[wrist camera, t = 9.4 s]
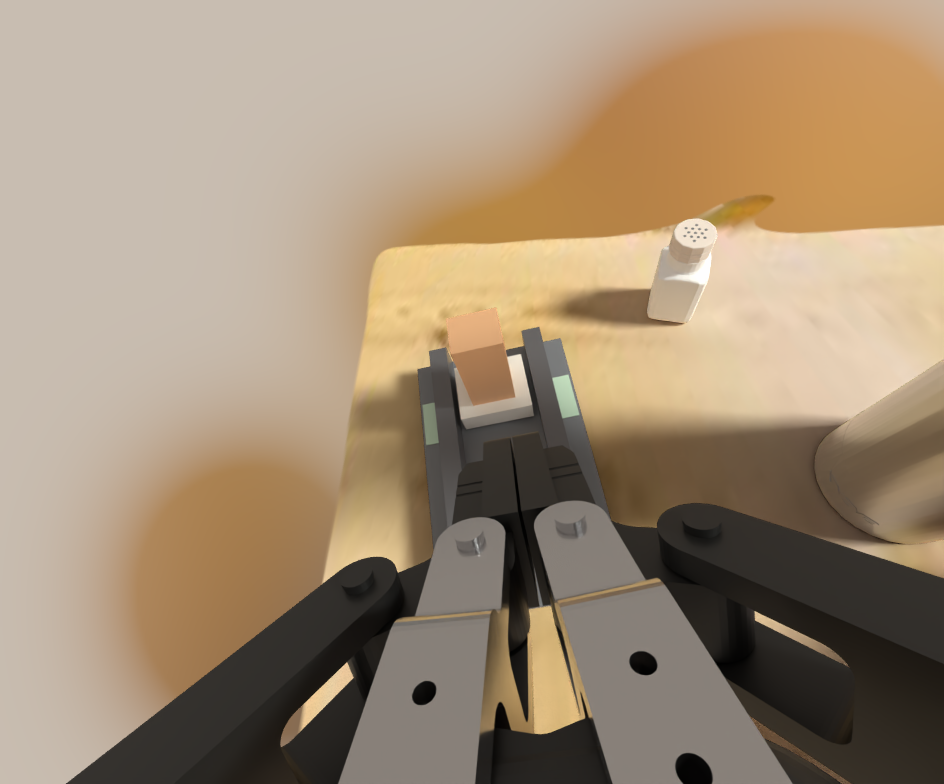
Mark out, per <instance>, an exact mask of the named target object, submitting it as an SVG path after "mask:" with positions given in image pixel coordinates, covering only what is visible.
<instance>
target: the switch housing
mask: <svg viewBox="0 0 944 784" xmlns="http://www.w3.org/2000/svg"><path fill="white" fill-rule="evenodd" d="M522 338H523V345H524V346H522V347H518V348H513V349H509V350H506V354H507V357H509V356H514V355H519V354H521V357H522V361H523V366H524V370H525V375H526V379H527V384H528V388H529V393H530V397H531V402H532V407H533V413H534V416H531V417H526V418H521V419H516V420H511V421H506V422H501V423H496V424H491V425H486V426H481V427H476V428H471V429H466V428H465V426H464V424H463V422H462V420H461V416H460V408H459V401H458V393H457V386H456V378H455V371H454V368H456V365H455V363H454V361H453V362H452V360H451V358H450V355H449V353H448V351H447V349H446V348H441V349H437V350H432V351H429V355H430V365H431V366H430V367H426V368H421V369H418V380H419V392H420V403H421V414H422V425H423V437H424V448H425V459H426V470H427V482H428V493H429V504H430V515H431V527H432V538H433V549H434V548H435V545H436V542H437V539H438V538H439V536H440V535H441V534H442V533H443V532H444V531H445V530H446V529H447V528H449V527H450V526H452V520H453V513H454V505H455V498H456V490H457V483H458V475H459V473H460V472H461V471H462V470H463V468H464V467H465V466H466V465H467V463H472V462H477V461H482V460H483V443H484V442H487V441H492V440H497V439H502V438H507V437H510V439H511V443H512V447H513V440H512V436H517V435H522V434H527V433H532V432H537V431H539V435H540V438H541V442H542V445H543V449H544V448H550V447H555V446H560V445H563V446H564V447H566V448H568V449H569V450H571V451H572V452H574V454H575V456H576V458H577V461H578V463H579V465H580V468H581V470H582V473H583V475H584V477H585V480H586V482H587V484H588V487H589V489H590V491H591V494H592V496H593V499H594V501H595V503H596V505H597V506H599V507H600V508H602V509H603V510H604V511H605V512H606V514H607V515H608V517H609V519H610V520H611V518H610V514H609V511H608V507H607V504H606V500H605V496H604V493H603V489H602V486H601V482H600V478H599V475H598V471H597V468H596V464H595V461H594V457H593V453H592V450H591V446H590V443H589V439H588V435H587V432H586V428H585V425H584V421H583V417H582V414H581V410H580V407H579V403H578V400H577V396H576V392H575V389H574V385H573V382H572V378H571V374H570V371H569V367H568V364H567V360H566V357H565V353H564V349H563V346H562V342H561V339H560V338H559V339H555V340H550V341H545V342H543V340H542V336H541V332H540V328H539V327H537V328H532V329H528V330H523V331H522ZM513 452H514V448H513ZM534 570H535V569H534ZM535 577H536V573H535ZM536 584H537V591H538V598H539V605H540V607H546V606H551V605H546V606H543V604H542V600H541V595H540V591H539V587H538V582H537V578H536ZM540 607H534V608H540ZM529 609H533V608H529Z"/></svg>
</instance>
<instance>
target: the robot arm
mask: <svg viewBox="0 0 944 784" xmlns="http://www.w3.org/2000/svg"><path fill="white" fill-rule="evenodd" d="M512 440H513V447H512V443H511V439H510V437H507V438H502V439H497V440H492V441H487V442H484V443H483V460H482V461H477V462H472V463H467V465H466V466H465V467H464V468H463V470H462V471H461V472H460V473H459V475H458V483H457V490H456V498H455V505H454V513H453V520H452V526H450V527H449V528H447V529H446V530H445V531H444V532H443V533H442V534H441V535H440V536H439V538H438V539H437V542H436V545H435V548H434V552H433V555H432V558H430V559H429V560H427V561H425V562H423V563H421V564H419V565H416V566H414V567H411V568H409V569H406V570H404V571H401V572H399V573H398V572H397V569H396V567H395V564H394V563H393V562H392V561H391V560H389V559H387V558H384V557H370V558H365V559H361V560H358V561H356V562H354V563H352V564H350V565H348V566H346V567H344V568H343V569H341V570H340V571H339V572H337V573H336V574H335V575H334V576H332V577H331V578H330V579H328V580H327V581H326V582H325V583H323V584H322V585H321V586H320V587H318V588H317V589H316V590H314V591H313V592H312V593H310V594H309V595H308V596H307V597H305V598H304V599H303V600H302V601H300V602H299V603H298V604H296V605H295V606H294V607H292V608H291V609H290V610H289V611H287V612H286V613H285V614H283V616H281V617H280V618H278V619H277V620H276V621H275V622H273V623H272V624H271V625H269V626H268V627H267V628H265V629H264V630H263V631H262V632H260V633H259V634H258V635H256V636H255V637H254V638H253V639H251V640H250V641H249V642H247V643H246V644H245V645H244V646H242V647H241V648H240V649H239V650H237V651H236V652H235V653H233V654H232V655H231V656H230V657H228V658H227V659H226V660H224V661H223V662H222V663H221V664H219V665H218V666H217V667H215V668H214V669H213V670H212V671H210V672H209V673H208V674H207V675H205V676H204V677H203V678H201V679H200V680H199V681H198V682H196V683H195V684H194V685H192V686H191V687H190V688H188V689H187V690H186V691H185V692H183V693H182V694H181V695H179V696H178V697H177V698H176V699H174V700H173V701H172V702H170V703H169V704H168V705H167V706H165V707H164V708H163V709H161V710H160V711H159V712H158V713H156V714H155V715H154V716H153V717H151V718H150V719H149V720H148V721H146V722H145V723H143V724H142V725H141V726H140V727H138V728H137V729H136V730H135V731H134V732H132V733H131V734H129V735H128V736H127V737H126V738H124V739H123V740H122V741H120V742H119V743H118V744H117V745H115V746H114V747H113V748H111V749H110V750H109V751H107V752H106V753H105V754H104V755H102V756H101V757H100V758H99V759H97V760H96V761H95V762H93V763H92V764H91V765H90V766H88V767H87V768H86V769H84V770H83V771H82V772H81V773H79V774H78V775H77V776H75V777H74V778H73V779H72V780H70V781H69V782H68V783H66V784H841V783H840V782H838V781H837V780H836V779H834V778H833V777H831V776H830V775H828V774H827V773H826V772H824V771H823V770H821V769H820V768H818V767H817V766H815V765H814V764H812V763H810V762H808V761H807V760H805V759H803V758H802V757H800V756H798V755H796V754H795V753H793V752H791V751H790V750H788V749H785V748H783V747H781V746H779V745H777V744H775V743H773V742H771V741H769V740H767V739H764V738H763V737H762V735H761V734H760V732H759V730H758V729H757V727H756V726H755V724H754V723H753V721H752V720H751V718H750V716H751V717H752V718H754V719H755V720H757V721H758V722H760V723H761V724H763V725H764V726H766V727H767V728H769V729H770V730H772V731H773V732H775V733H776V734H778V735H779V736H781V737H782V738H784V739H785V740H787V741H788V742H790V743H791V744H793V745H795V746H796V747H798V748H799V749H801V750H802V751H804V752H805V753H807V754H808V755H810V756H811V757H813V758H814V759H816V760H817V761H819V762H820V763H822V764H823V765H825V766H826V767H828V768H829V769H831V770H832V771H834V772H835V773H837V774H838V775H840V776H841V777H843V778H844V779H846V780H847V781H849V782H850V783H852V784H944V579H943V578H940V577H937V576H934V575H931V574H928V573H925V572H922V571H919V570H916V569H912V568H909V567H906V566H903V565H900V564H897V563H894V562H891V561H888V560H885V559H881V558H878V557H875V556H872V555H869V554H866V553H863V552H860V551H857V550H854V549H850V548H847V547H844V546H841V545H838V544H835V543H832V542H829V541H826V540H823V539H819V538H816V537H813V536H810V535H807V534H804V533H801V532H798V531H795V530H791V529H788V528H785V527H782V526H779V525H776V524H773V523H770V522H767V521H764V520H760V519H757V518H754V517H751V516H748V515H745V514H742V513H739V512H736V511H733V510H729V509H726V508H723V507H720V506H716V505H711V504H702V503H691V504H683V505H679V506H676V507H673V508H671V509H669V510H667V511H665V512H664V513H663V514H662V515H661V516H660V518H659V519H658V522H657V528H646V527H631V526H626V525H622V524H619V523H616V522H613V521H611V520H610V519H609V517H608V515H607V514H606V512H605V511H604V510H603V509H602V508H600V507H599V506H597V505H596V503H595V501H594V499H593V496H592V494H591V491H590V489H589V487H588V484H587V482H586V480H585V477H584V475H583V473H582V470H581V468H580V465H579V463H578V461H577V458H576V456H575V454H574V452H572V451H571V450H569V449H568V448H566V447H564V446H563V445H560V446H555V447H550V448H544V449H543V445H542V442H541V438H540V435H539V431H537V432H532V433H527V434H522V435H517V436H512ZM513 448H514V452H513ZM814 470H815V475H816V479H817V482H818V485H819V487H820V489H821V491H822V493H823V495H824V496H825V498H826V499H827V501H828V502H829V503H830V505H831V506H832V507H833V508H834V509H835V510H836V511H837V512H838V513H839V514H840V515H841V516H842V517H843V518H844V519H846V520H847V521H848V522H850V523H851V524H852V525H854V526H855V527H857V528H859V529H860V530H862V531H864V532H866V533H868V534H870V535H872V536H875V537H878V538H881V539H884V540H887V541H891V542H897V543H902V544H922V543H928V542H934V541H939V540H944V359H943V360H942V361H940V362H938V363H937V364H935V365H934V366H932V367H931V368H929V369H928V370H926V371H925V372H923V373H922V374H920V375H918V376H917V377H915V378H914V379H912V380H911V381H909V382H908V383H906V384H905V385H903V386H901V387H900V388H898V389H897V390H895V391H894V392H892V393H891V394H889V395H888V396H886V397H884V398H883V399H881V400H880V401H878V402H877V403H875V404H874V405H872V406H871V407H869V408H867V409H866V410H864V411H862V412H861V413H859V414H858V415H856V416H855V417H853V418H852V419H850V420H849V421H847V422H846V423H844V424H843V425H841V426H840V427H838V428H836V429H835V430H833V431H832V432H831V433H830V434H828V435H827V436H826V437H825V438H824V439H823V440H822V442H821V443H820V445H819V446H818V449H817V452H816V455H815V462H814ZM534 569H535V570H534ZM535 573H536V577H535ZM536 578H537V582H538V587H539V591H540V595H541V600H542V604H543V606H546V605H551V608H552V612H553V617H554V621H555V626H556V631H557V635H558V640H559V644H560V647H561V651H562V655H563V658H564V662H565V666H566V670H567V673H568V677H569V681H570V684H571V688H572V692H573V695H574V699H575V703H576V707H577V710H578V714H579V718H580V721H577V722H575V723H573V724H570V725H568V726H565V727H563V728H561V729H558V730H556V731H554V732H551V733H548V734H534V703H533V662H532V640H531V636H530V632H529V629H530V616H529V608H534V607H540V605H539V598H538V591H537V584H536ZM754 611H756V612H758V613H760V614H762V615H764V616H766V617H769V618H771V619H773V620H775V621H777V622H779V623H781V624H783V625H785V626H787V627H789V628H791V629H793V630H796V631H798V632H800V633H802V634H804V635H806V636H808V637H810V638H812V639H814V640H816V641H818V642H820V643H822V644H824V645H826V646H827V647H829V648H830V649H832V650H833V651H834V652H836V653H837V654H838V655H839V656H840V657H841V658H842V659H843V660H844V661H845V662H846V663H847V664H848V666H849V667H850V668H849V667H847V666H845V665H843V664H841V663H839V662H837V661H835V660H833V659H831V658H829V657H827V656H825V655H823V654H821V653H819V652H817V651H815V650H813V649H811V648H809V647H807V646H805V645H803V644H801V643H799V642H797V641H795V640H793V639H791V638H789V637H787V636H785V635H783V634H781V633H779V632H777V631H775V630H773V629H771V628H769V627H767V626H765V625H763V624H761V623H759V622H757V621H755V613H754ZM346 662H348V665H349V667H350V670H351V672H352V674H353V677H354V678H353V679H352V680H351V681H350V682H349V683H348V684H347V685H346V686H345V687H344V688H343V689H342V690H341V691H340V692H339V693H338V694H337V695H336V696H335V697H334V698H333V699H332V700H331V701H330V702H329V703H328V704H327V705H326V706H325V707H324V708H323V709H322V710H321V711H320V712H319V713H318V714H317V715H316V716H315V717H314V718H313V720H312V721H311V722H310V723H309V724H308V725H307V726H306V727H305V728H304V729H303V730H302V731H301V732H300V733H299V734H298V735H297V736H296V737H295V738H294V739H293V740H292V741H290V743H288V744H286V745H285V746H283V747H281V746H280V740H281V735H282V732H283V729H284V727H285V725H286V724H287V722H288V720H289V719H290V717H291V716H292V715H293V714H294V713H295V712H296V711H297V710H298V709H299V708H300V707H301V706H302V705H303V704H304V703H305V702H306V701H307V700H308V699H309V698H310V697H311V696H312V695H313V694H314V693H315V692H316V691H317V690H318V689H319V688H321V687H322V686H323V685H324V684H325V683H326V682H327V681H328V680H329V679H330V678H331V677H332V676H333V675H334V674H335V673H336V672H337V671H338V670H339V669H340V668H341V667H342V666H343V665H344V664H345V663H346Z"/></svg>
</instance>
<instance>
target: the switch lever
mask: <svg viewBox="0 0 944 784" xmlns="http://www.w3.org/2000/svg"><path fill="white" fill-rule="evenodd" d="M446 323H447V330H448V338H449V345H450V353H451V356H452V358H453V361H454V363H455V365H456V368H454V371H455V378H456V386H457V393H458V401H459V408H460V416H461V420H462V422H463V424H464V426H465V428H466V429H471V428H476V427H481V426H486V425H491V424H496V423H501V422H506V421H511V420H516V419H521V418H526V417H531V416H534V413H533V407H532V402H531V397H530V393H529V388H528V384H527V379H526V375H525V370H524V366H523V361H522V357H521V354H519V355H514V356H509V357H507V354H506V349H505V345H504V340H503V336H502V331H501V327H500V322H499V318H498V313H497V308H491V309H487V310H482V311H478V312H474V313H469V314H465V315H460V316H456V317H452V318H447V319H446Z"/></svg>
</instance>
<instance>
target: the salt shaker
mask: <svg viewBox="0 0 944 784" xmlns="http://www.w3.org/2000/svg"><path fill="white" fill-rule="evenodd" d="M717 236H718V235H717V231H716V227H715V226H713V225H712V224H711V223H710V222H708V221H705V220H701V219H688V220H685V221H683V222H681V223H680V224H678V225H677V226H676V228H675V230H674V232H673V235H672V239H671V242H670V245H669V246H667V247H664V248H663V249H662V251H661V255H660V258H659V262H658V265H657V269H656V273H655V276H654V280H653V283H652V287H651V292H650V297H649V302H648V307H647V314H648V317H649V318H651V319H657V320H664V321H671V322H678V323H687V322H689V320H690V319H691V318H692V315H693V313H694V311H695V309H696V306H697V304H698V302H699V300H700V297H701V295H702V293H703V291H704V288H705V286H706V284H707V282H708V278H709V272H710V265H711V251H712V248H713V246H714V243H715V241H716V238H717Z"/></svg>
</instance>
